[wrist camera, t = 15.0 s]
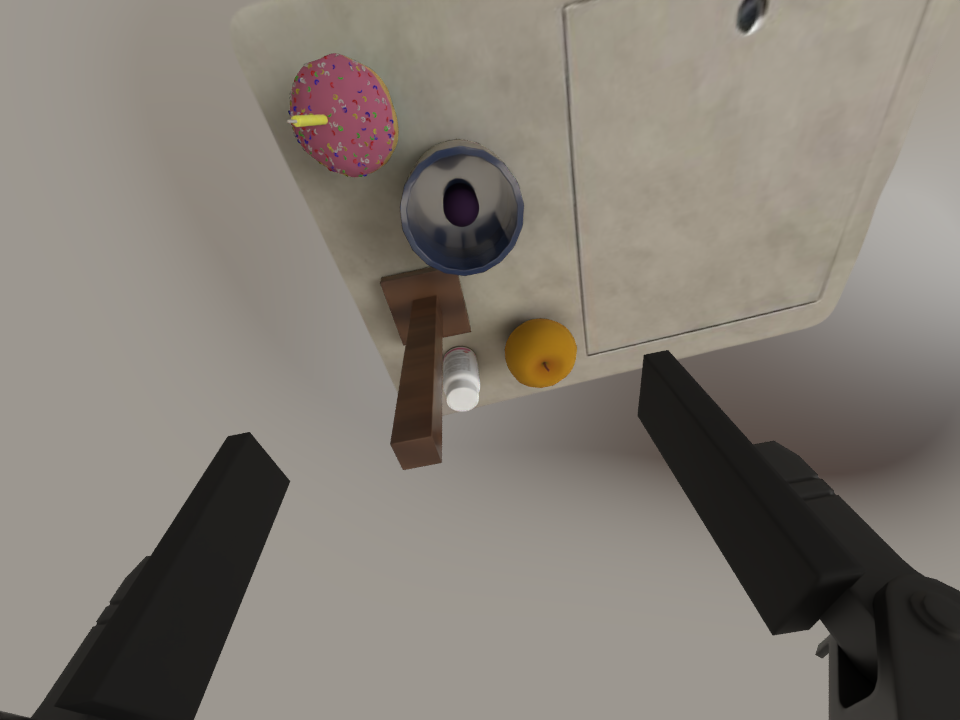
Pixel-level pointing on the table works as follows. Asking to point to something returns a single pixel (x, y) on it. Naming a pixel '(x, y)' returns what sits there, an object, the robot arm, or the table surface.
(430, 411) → the stand
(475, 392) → the pill bottle
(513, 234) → the pot
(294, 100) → the cupcake
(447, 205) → the purple plum
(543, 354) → the apple
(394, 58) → the table surface
